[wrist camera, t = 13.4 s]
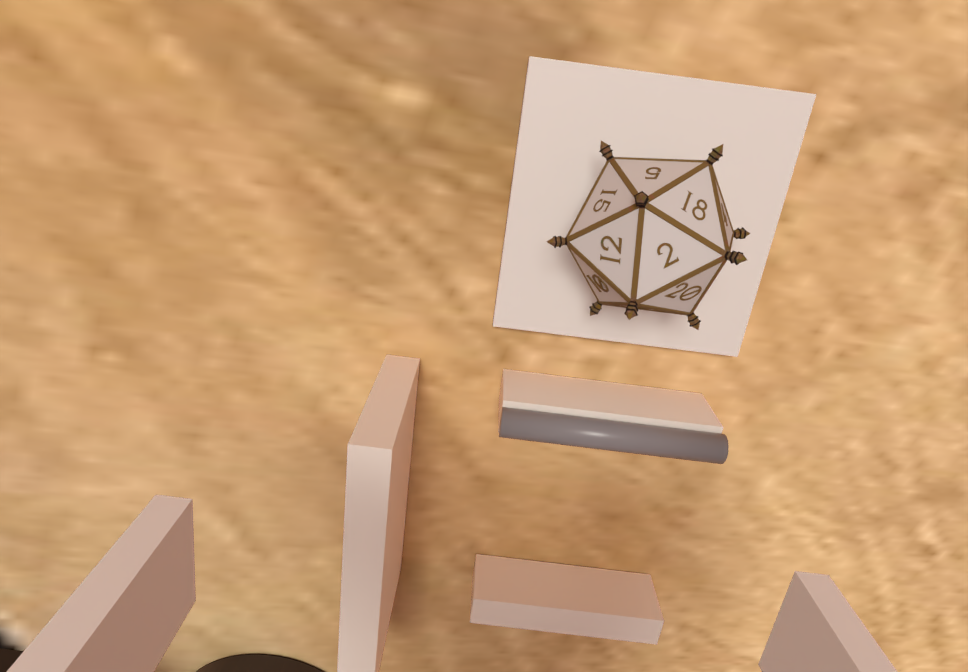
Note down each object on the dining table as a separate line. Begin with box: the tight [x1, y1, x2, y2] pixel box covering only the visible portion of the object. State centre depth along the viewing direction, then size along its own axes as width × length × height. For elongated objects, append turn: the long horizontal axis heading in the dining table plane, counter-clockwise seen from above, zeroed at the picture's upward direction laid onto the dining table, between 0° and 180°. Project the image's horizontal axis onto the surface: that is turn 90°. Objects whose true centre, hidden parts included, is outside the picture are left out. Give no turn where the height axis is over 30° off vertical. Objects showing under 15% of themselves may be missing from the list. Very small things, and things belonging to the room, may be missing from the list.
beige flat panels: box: [337, 354, 728, 672], centre depth 36 cm, size 16×19×10 cm
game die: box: [547, 141, 750, 330], centre depth 29 cm, size 9×8×10 cm
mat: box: [493, 56, 816, 357], centre depth 33 cm, size 14×14×1 cm
